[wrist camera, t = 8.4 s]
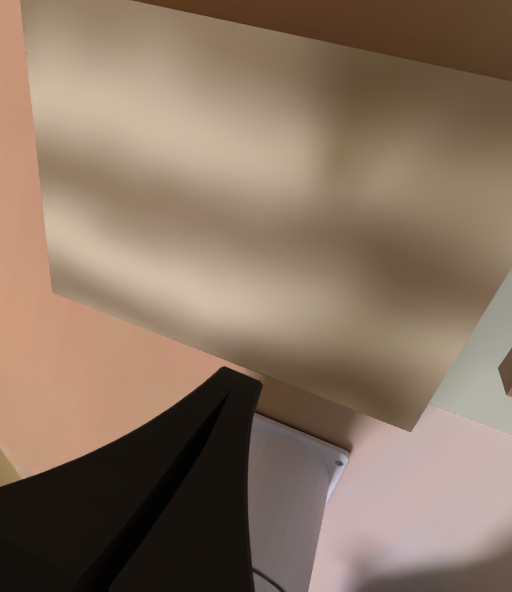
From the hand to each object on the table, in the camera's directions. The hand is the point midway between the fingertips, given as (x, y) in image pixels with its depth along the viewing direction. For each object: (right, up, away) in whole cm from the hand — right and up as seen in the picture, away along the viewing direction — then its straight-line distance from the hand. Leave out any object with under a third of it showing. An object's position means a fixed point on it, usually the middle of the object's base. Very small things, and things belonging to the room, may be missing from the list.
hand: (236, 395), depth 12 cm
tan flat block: (+1, +8, +7) cm, 11 cm away
